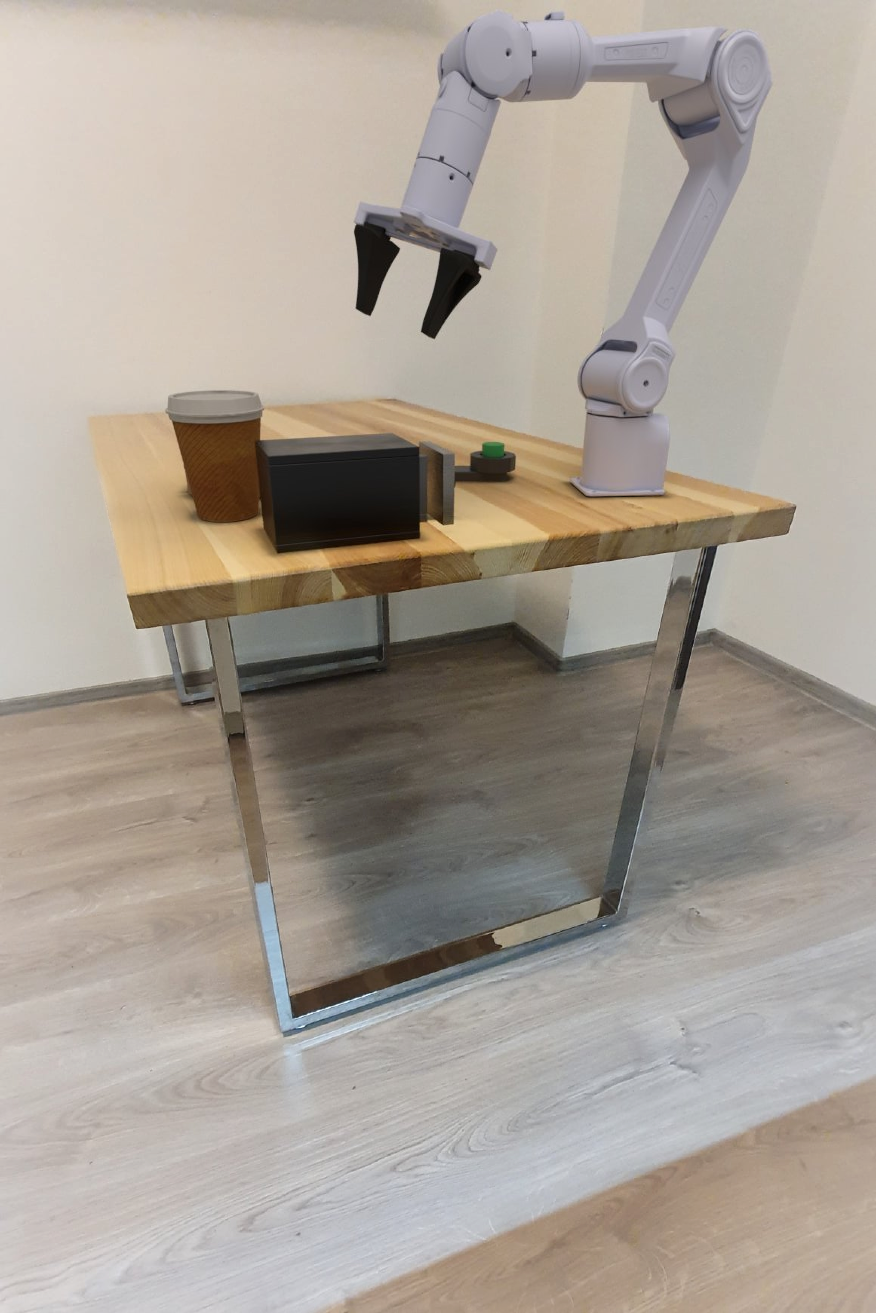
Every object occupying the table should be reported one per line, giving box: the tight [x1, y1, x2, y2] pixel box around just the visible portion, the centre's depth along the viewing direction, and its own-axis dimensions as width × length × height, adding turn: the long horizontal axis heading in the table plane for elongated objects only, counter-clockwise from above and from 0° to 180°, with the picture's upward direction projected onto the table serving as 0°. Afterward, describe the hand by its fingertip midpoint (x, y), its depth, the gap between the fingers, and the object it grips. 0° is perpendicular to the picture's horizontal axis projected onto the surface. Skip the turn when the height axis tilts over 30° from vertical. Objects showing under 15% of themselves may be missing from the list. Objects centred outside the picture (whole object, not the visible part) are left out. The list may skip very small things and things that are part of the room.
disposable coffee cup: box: [164, 389, 265, 523], centre depth 74 cm, size 10×10×12 cm
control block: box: [455, 450, 517, 482], centre depth 93 cm, size 10×6×3 cm, turn 90°
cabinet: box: [255, 432, 421, 554], centre depth 69 cm, size 14×8×9 cm, turn 110°
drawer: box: [418, 440, 457, 526], centre depth 70 cm, size 14×7×7 cm, turn 110°
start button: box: [481, 441, 505, 457], centre depth 92 cm, size 3×3×2 cm
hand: (394, 324), depth 71 cm, fingers open, 7 cm apart
